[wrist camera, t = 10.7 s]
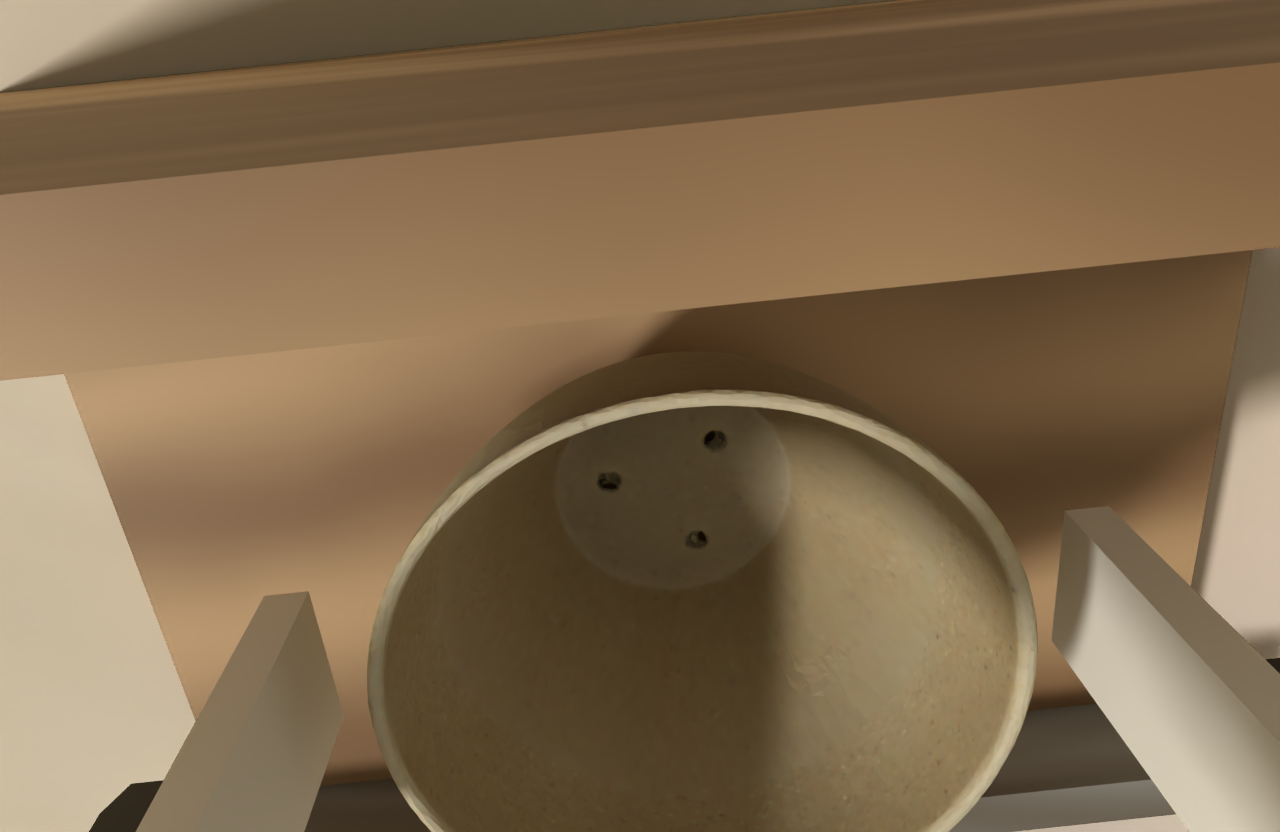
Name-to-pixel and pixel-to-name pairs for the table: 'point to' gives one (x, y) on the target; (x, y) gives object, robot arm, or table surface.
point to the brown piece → (649, 291)
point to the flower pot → (702, 617)
